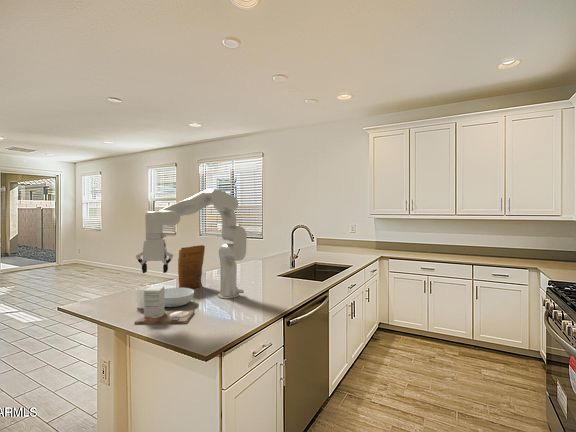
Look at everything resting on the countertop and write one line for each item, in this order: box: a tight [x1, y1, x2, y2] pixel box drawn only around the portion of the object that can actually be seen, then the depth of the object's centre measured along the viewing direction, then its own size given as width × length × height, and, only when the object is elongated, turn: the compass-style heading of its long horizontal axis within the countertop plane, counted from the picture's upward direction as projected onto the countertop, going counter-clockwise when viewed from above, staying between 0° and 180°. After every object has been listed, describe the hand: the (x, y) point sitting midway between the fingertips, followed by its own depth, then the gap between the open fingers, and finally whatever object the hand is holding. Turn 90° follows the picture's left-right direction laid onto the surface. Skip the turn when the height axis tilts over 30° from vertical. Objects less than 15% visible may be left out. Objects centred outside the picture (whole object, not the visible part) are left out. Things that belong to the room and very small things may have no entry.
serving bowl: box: [164, 287, 195, 308], centre depth 165 cm, size 21×21×7 cm
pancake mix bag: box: [177, 244, 206, 290], centre depth 198 cm, size 7×19×28 cm, turn 133°
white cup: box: [135, 285, 152, 309], centre depth 161 cm, size 8×8×10 cm
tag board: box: [134, 310, 195, 325], centre depth 144 cm, size 23×14×2 cm, turn 93°
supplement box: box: [143, 286, 166, 317], centre depth 145 cm, size 7×7×13 cm
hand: (155, 272), depth 145 cm, fingers open, 9 cm apart
